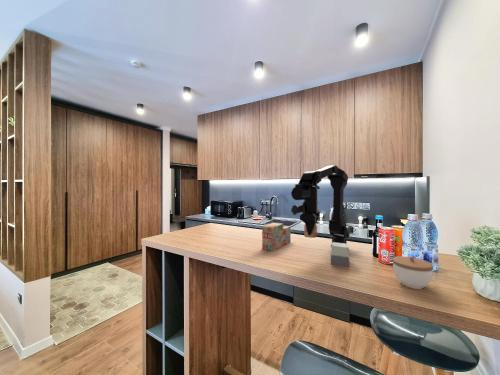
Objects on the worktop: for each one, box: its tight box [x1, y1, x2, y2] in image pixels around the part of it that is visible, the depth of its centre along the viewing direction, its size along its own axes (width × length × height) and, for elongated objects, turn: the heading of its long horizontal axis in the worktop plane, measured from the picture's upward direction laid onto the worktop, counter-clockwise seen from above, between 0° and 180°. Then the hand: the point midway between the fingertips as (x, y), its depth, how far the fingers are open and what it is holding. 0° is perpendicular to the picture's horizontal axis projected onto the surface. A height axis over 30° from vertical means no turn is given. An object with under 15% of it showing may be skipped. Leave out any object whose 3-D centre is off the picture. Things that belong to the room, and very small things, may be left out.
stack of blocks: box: [261, 222, 292, 252], centre depth 116 cm, size 21×6×12 cm, turn 144°
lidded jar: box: [392, 255, 434, 290], centre depth 70 cm, size 11×11×9 cm
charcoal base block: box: [330, 251, 350, 268], centre depth 90 cm, size 7×7×4 cm
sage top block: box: [331, 242, 349, 257], centre depth 90 cm, size 6×6×4 cm
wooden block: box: [303, 223, 318, 239], centre depth 95 cm, size 6×6×5 cm
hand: (310, 233), depth 95 cm, fingers closed on wooden block, 5 cm apart
